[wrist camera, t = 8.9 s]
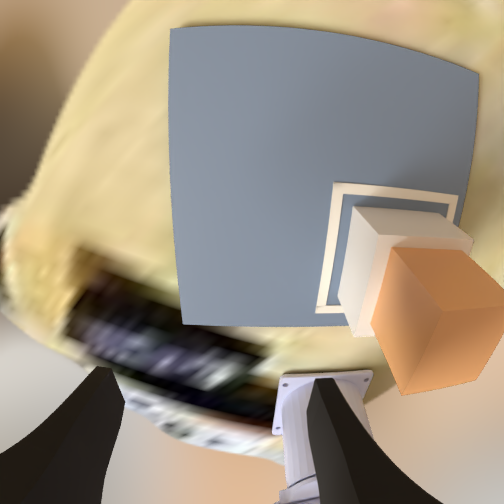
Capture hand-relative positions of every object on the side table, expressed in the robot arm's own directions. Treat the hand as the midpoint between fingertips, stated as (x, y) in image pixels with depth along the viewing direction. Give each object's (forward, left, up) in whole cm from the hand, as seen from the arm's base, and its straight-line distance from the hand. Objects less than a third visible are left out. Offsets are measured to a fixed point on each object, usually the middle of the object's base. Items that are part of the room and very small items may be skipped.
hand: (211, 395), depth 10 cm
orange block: (+1, -10, -5) cm, 11 cm away
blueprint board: (+5, -6, -10) cm, 12 cm away
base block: (+1, -10, -9) cm, 14 cm away
